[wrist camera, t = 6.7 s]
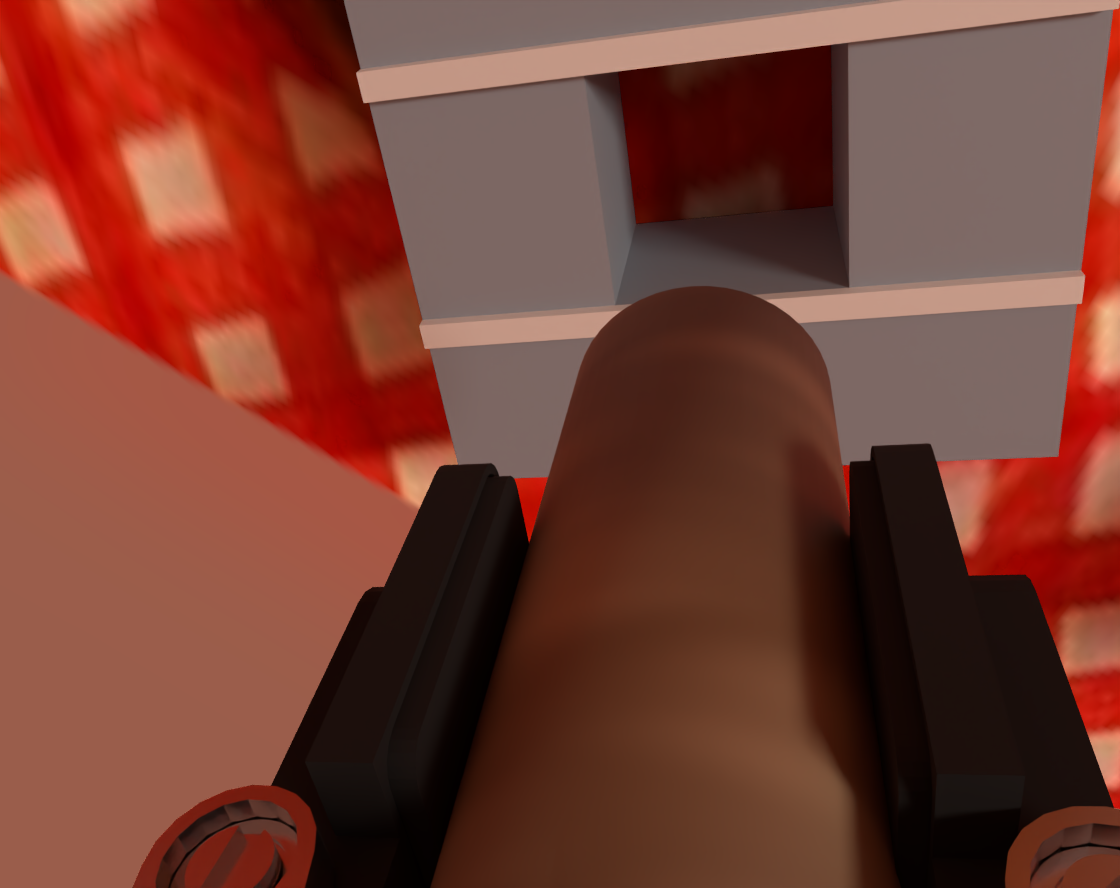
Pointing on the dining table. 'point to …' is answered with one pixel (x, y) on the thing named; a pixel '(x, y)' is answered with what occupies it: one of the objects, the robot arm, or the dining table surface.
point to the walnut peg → (683, 630)
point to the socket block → (757, 238)
